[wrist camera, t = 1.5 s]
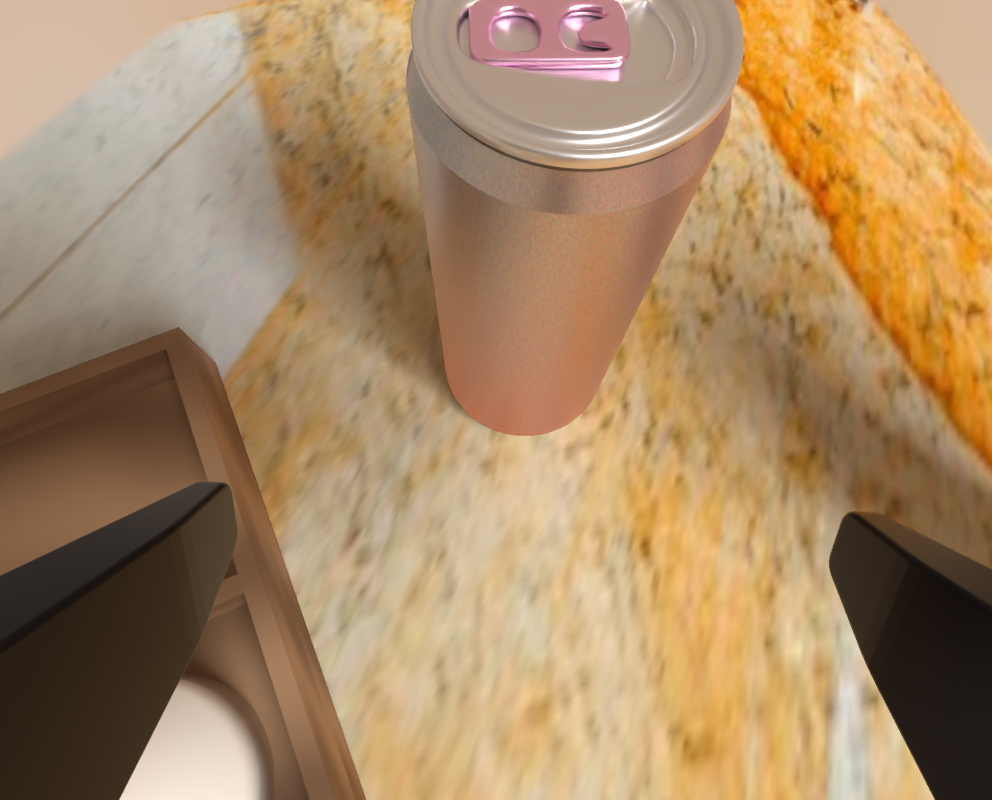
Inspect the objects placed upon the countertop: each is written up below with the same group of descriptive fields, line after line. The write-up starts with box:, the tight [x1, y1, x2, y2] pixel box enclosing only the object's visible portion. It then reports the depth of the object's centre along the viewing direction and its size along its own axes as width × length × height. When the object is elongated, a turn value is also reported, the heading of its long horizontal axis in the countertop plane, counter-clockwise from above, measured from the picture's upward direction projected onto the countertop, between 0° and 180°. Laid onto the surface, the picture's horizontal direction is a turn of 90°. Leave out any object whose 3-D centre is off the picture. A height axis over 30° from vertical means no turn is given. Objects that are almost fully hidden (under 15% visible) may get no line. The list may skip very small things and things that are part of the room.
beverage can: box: [406, 0, 744, 436], centre depth 18 cm, size 6×6×15 cm
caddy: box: [0, 327, 366, 800], centre depth 19 cm, size 18×10×3 cm, turn 25°
